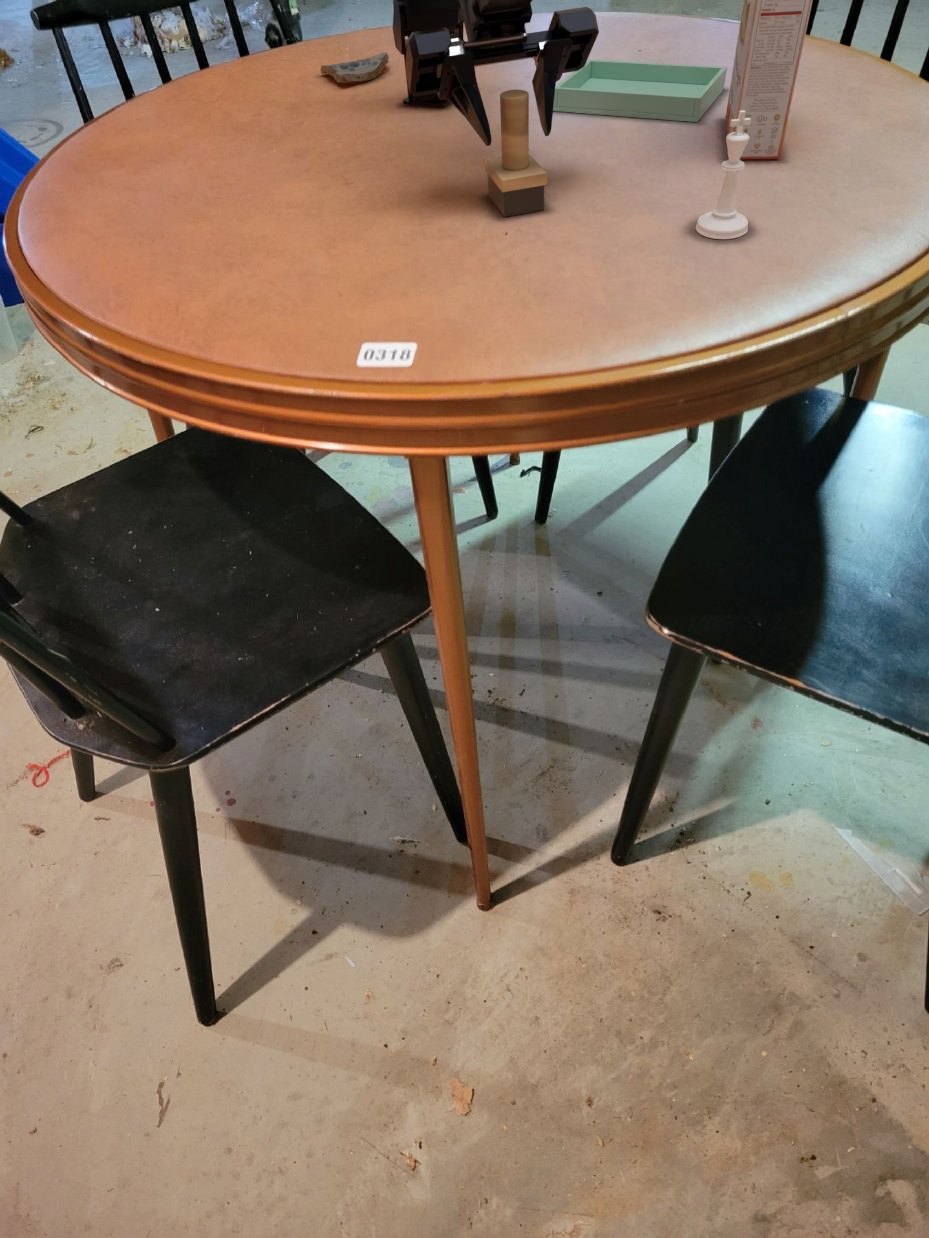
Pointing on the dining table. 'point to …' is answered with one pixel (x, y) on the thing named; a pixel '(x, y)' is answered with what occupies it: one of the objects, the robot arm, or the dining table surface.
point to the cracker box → (766, 71)
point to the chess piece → (728, 190)
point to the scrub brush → (515, 161)
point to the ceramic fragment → (357, 69)
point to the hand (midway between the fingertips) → (518, 138)
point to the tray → (641, 90)
